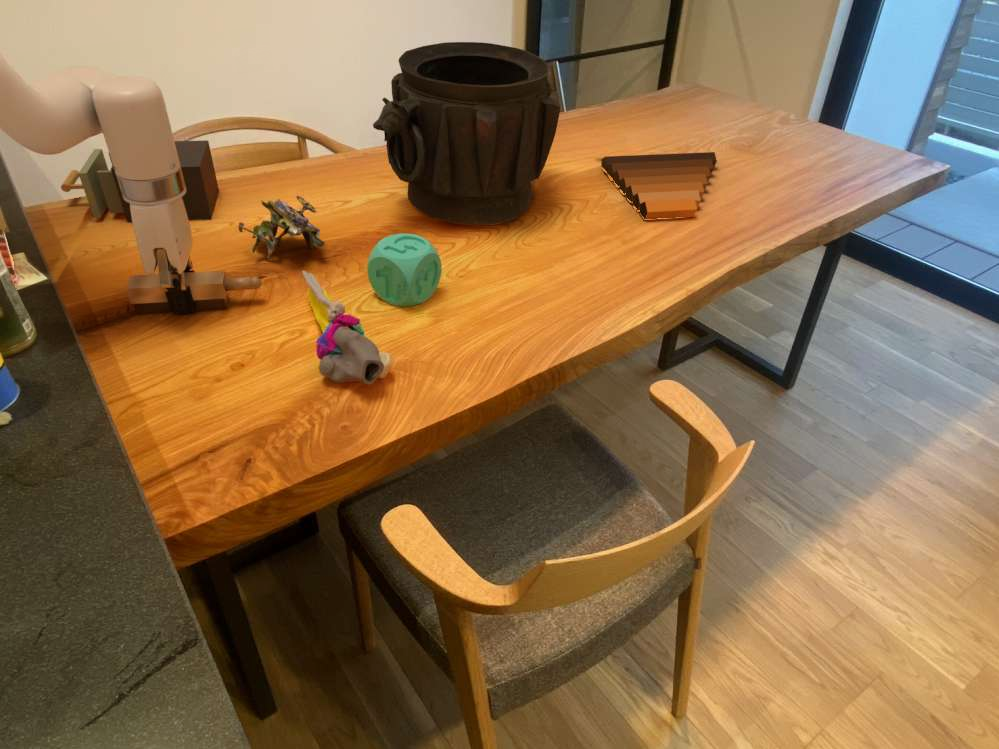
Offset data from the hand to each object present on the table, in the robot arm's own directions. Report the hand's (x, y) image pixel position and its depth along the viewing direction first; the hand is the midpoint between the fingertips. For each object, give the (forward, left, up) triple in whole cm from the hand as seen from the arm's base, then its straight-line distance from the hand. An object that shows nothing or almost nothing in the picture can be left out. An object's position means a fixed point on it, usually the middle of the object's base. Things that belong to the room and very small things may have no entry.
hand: (185, 302), depth 99 cm
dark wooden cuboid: (-7, +33, -1) cm, 34 cm away
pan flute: (+89, +32, -1) cm, 95 cm away
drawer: (-14, +33, 0) cm, 36 cm away
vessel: (+46, +31, -1) cm, 56 cm away
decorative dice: (+31, 0, -1) cm, 32 cm away
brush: (+2, 0, -1) cm, 2 cm away
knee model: (+22, -12, -1) cm, 25 cm away
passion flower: (+13, +14, -1) cm, 19 cm away
